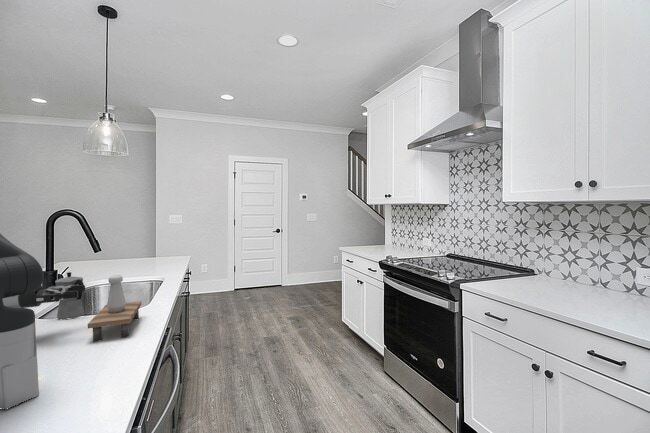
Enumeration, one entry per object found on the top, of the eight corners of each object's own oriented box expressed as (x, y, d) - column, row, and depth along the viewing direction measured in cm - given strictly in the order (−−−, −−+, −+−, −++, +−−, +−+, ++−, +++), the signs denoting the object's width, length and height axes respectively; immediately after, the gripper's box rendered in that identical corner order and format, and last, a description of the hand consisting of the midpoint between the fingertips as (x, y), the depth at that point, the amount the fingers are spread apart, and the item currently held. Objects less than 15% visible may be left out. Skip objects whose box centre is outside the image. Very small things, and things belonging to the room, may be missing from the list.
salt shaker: (116, 314, 115) (115, 277, 114) (103, 313, 116) (101, 277, 115) (129, 309, 121) (128, 274, 120) (116, 308, 122) (115, 273, 121)
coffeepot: (48, 317, 132) (46, 273, 131) (74, 310, 140) (72, 268, 140) (70, 322, 125) (68, 276, 125) (96, 315, 134) (94, 271, 133)
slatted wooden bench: (130, 337, 110) (129, 318, 110) (88, 343, 106) (87, 323, 106) (141, 316, 131) (141, 300, 131) (107, 320, 127) (106, 304, 127)
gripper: (10, 290, 101) (74, 284, 107) (30, 280, 114) (86, 276, 120) (12, 314, 101) (75, 307, 108) (31, 301, 114) (87, 296, 121)
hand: (81, 290), depth 114 cm, fingers open, 8 cm apart
